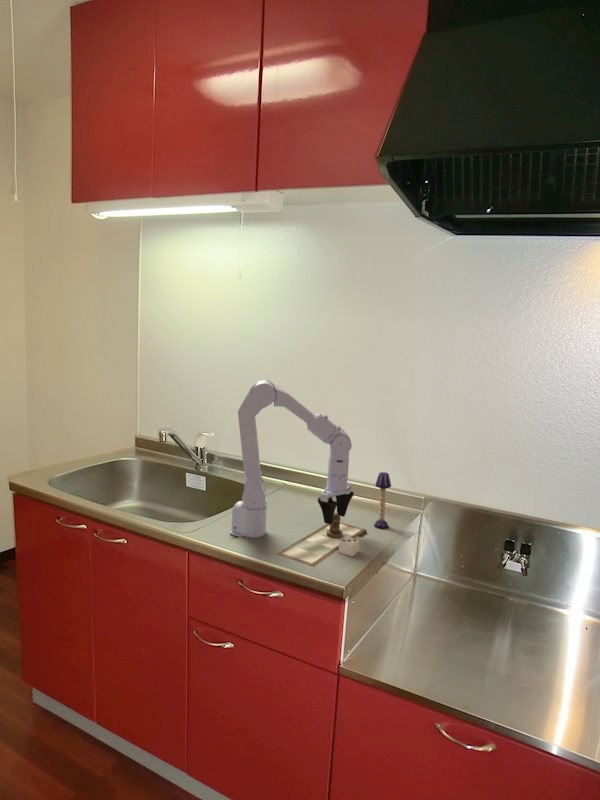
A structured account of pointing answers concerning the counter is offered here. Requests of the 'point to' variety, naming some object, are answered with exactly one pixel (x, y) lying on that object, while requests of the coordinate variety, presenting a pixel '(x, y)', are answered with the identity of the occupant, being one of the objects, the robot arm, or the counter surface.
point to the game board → (319, 544)
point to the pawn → (335, 527)
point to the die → (348, 546)
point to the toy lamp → (382, 498)
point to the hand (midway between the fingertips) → (334, 519)
